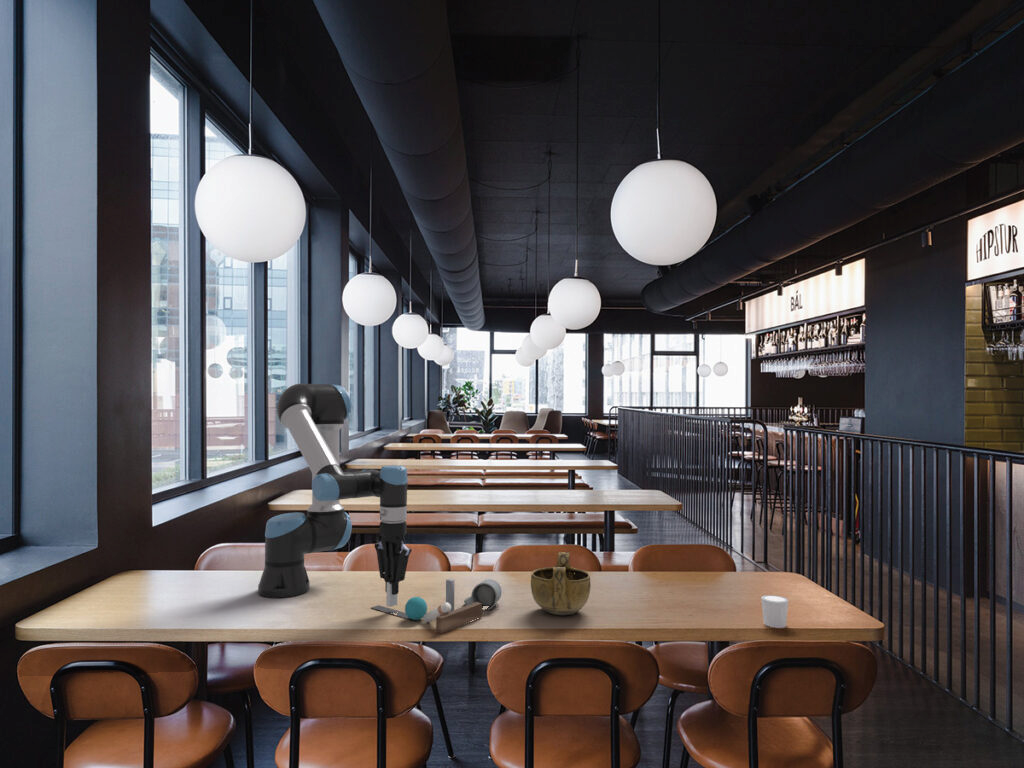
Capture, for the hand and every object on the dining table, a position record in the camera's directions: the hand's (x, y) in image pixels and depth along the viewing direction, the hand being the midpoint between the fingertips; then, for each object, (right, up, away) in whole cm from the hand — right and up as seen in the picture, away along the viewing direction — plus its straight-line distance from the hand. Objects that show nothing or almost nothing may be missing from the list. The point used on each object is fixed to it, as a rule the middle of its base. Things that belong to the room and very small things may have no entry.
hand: (391, 605), depth 183 cm
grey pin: (+16, -2, 0) cm, 17 cm away
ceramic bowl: (+48, -3, +2) cm, 48 cm away
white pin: (+11, -1, -8) cm, 14 cm away
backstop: (+20, -2, -10) cm, 22 cm away
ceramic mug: (+25, -3, +6) cm, 26 cm away
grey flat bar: (+1, -2, -1) cm, 2 cm away
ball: (+8, +1, -6) cm, 10 cm away
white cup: (+105, -3, -7) cm, 105 cm away
